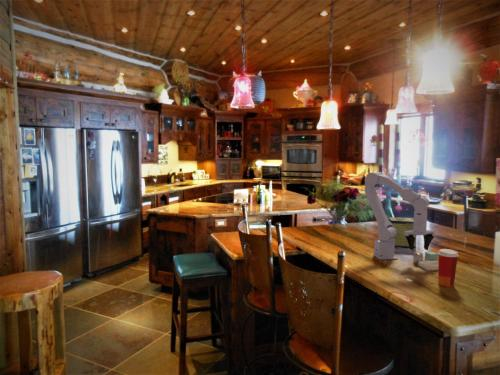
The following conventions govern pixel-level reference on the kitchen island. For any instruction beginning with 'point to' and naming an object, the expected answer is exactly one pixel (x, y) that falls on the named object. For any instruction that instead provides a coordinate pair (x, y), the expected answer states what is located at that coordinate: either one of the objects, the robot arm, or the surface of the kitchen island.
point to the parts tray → (428, 265)
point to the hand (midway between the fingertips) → (418, 249)
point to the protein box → (402, 231)
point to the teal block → (431, 256)
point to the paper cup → (447, 267)
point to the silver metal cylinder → (417, 257)
